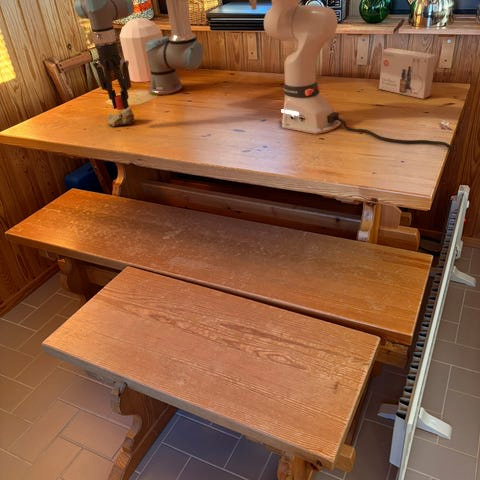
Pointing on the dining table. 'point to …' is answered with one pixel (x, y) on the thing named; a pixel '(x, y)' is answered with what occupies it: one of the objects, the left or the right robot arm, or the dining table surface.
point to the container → (138, 46)
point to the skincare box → (407, 72)
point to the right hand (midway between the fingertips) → (253, 7)
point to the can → (119, 102)
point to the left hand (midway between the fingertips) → (121, 107)
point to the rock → (121, 118)
